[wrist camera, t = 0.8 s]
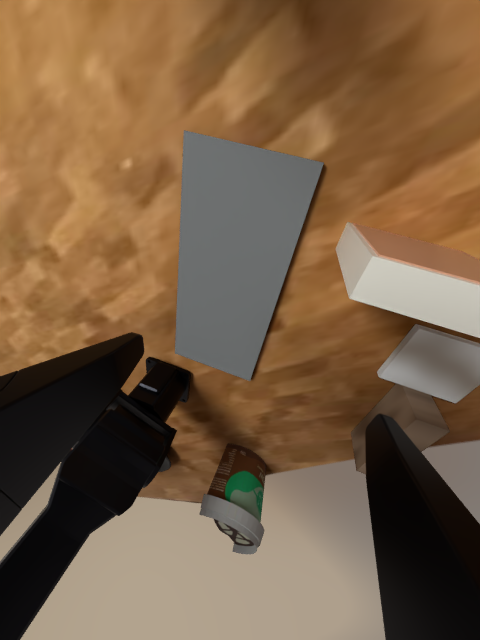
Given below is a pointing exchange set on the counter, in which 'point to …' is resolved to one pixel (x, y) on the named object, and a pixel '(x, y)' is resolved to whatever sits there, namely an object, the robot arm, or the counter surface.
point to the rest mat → (235, 246)
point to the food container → (238, 498)
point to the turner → (422, 385)
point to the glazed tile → (411, 277)
